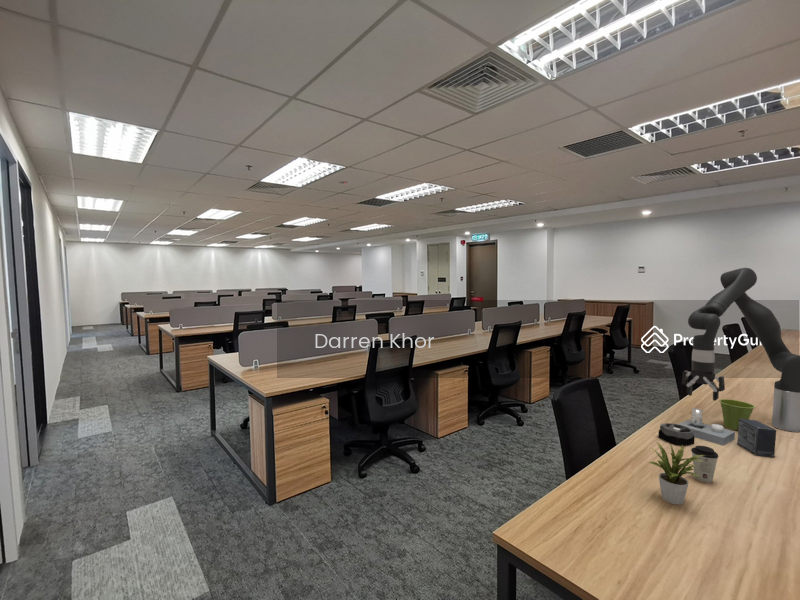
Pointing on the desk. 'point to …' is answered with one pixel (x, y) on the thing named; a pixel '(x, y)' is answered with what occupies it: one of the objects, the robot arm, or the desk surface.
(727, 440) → the peg board
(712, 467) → the coffee cup
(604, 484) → the desk surface
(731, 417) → the plant pot
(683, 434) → the cpu cooler
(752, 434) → the small box
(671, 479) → the house plant
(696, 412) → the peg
